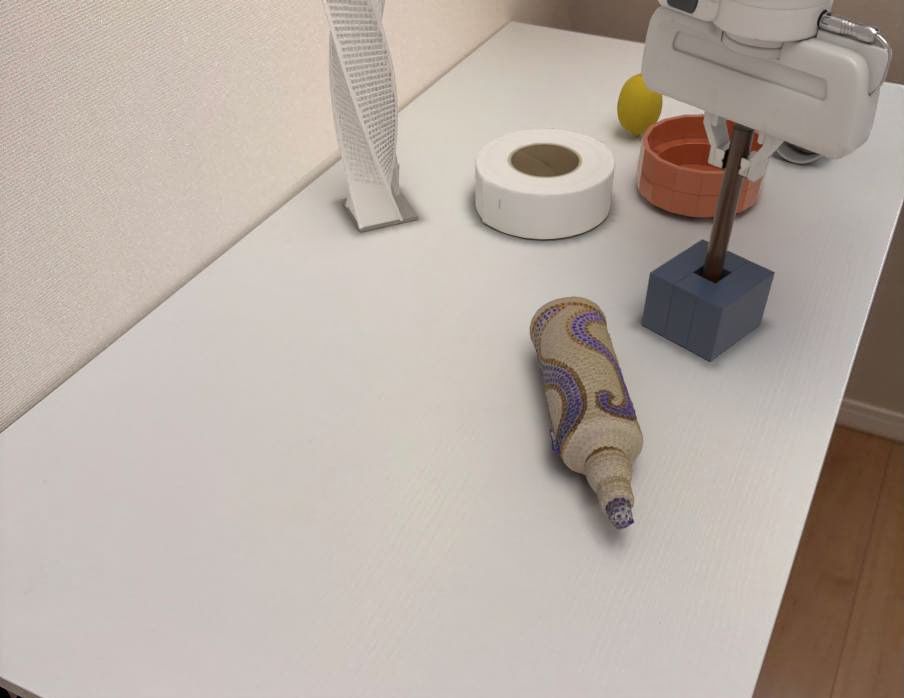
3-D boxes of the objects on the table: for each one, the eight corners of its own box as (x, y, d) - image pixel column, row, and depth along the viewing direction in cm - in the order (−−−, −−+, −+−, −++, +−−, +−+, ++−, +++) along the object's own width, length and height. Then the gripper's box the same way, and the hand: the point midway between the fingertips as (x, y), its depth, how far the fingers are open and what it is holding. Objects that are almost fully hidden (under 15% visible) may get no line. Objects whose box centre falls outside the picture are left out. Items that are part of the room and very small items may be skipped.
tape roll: (446, 203, 110) (445, 157, 106) (541, 158, 117) (544, 113, 113) (541, 257, 102) (544, 210, 98) (638, 206, 109) (644, 159, 105)
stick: (713, 324, 94) (759, 126, 79) (702, 332, 93) (747, 133, 78) (698, 317, 95) (741, 119, 80) (687, 324, 94) (729, 126, 79)
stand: (760, 324, 94) (775, 272, 89) (710, 362, 90) (722, 308, 85) (691, 290, 98) (702, 238, 93) (641, 324, 94) (649, 272, 89)
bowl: (782, 191, 111) (795, 141, 106) (710, 237, 104) (721, 186, 100) (684, 151, 118) (692, 103, 113) (611, 192, 111) (617, 142, 107)
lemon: (628, 122, 123) (636, 58, 117) (665, 134, 121) (675, 70, 115) (605, 138, 120) (612, 73, 114) (642, 151, 118) (651, 85, 112)
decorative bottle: (524, 353, 91) (528, 294, 86) (601, 349, 91) (609, 290, 86) (566, 555, 74) (574, 496, 69) (661, 549, 74) (675, 489, 69)
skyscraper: (422, 225, 107) (410, -54, 86) (354, 240, 105) (325, -41, 84) (398, 191, 112) (380, -80, 91) (333, 205, 110) (299, -69, 89)
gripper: (921, 20, 68) (862, 199, 78) (690, -45, 78) (664, 121, 88) (876, 46, 65) (820, 228, 75) (641, -25, 75) (621, 144, 85)
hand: (734, 170), depth 82 cm, fingers closed on stick, 2 cm apart
